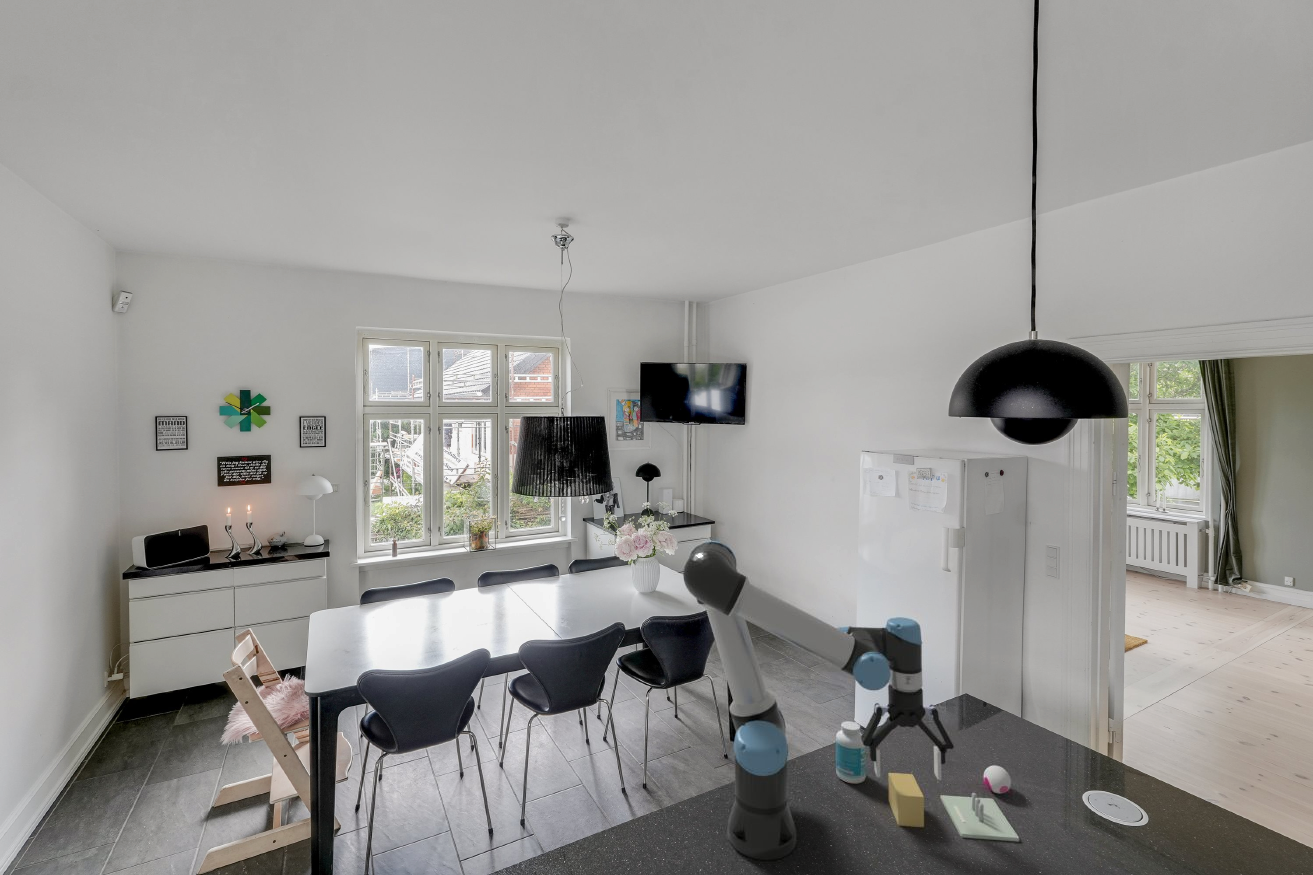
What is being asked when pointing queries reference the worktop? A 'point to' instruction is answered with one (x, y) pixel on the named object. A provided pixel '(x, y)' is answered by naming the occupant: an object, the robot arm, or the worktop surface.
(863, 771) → the pill bottle
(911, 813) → the tan yellow block
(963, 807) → the board
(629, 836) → the worktop surface
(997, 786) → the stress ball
